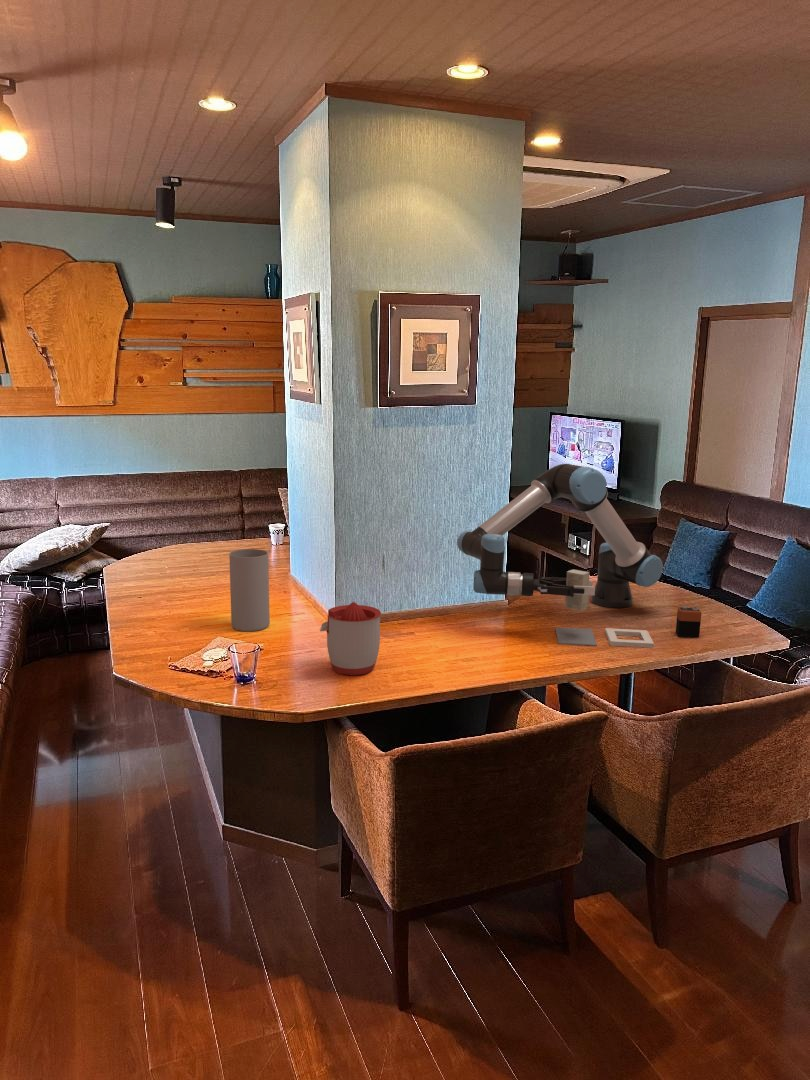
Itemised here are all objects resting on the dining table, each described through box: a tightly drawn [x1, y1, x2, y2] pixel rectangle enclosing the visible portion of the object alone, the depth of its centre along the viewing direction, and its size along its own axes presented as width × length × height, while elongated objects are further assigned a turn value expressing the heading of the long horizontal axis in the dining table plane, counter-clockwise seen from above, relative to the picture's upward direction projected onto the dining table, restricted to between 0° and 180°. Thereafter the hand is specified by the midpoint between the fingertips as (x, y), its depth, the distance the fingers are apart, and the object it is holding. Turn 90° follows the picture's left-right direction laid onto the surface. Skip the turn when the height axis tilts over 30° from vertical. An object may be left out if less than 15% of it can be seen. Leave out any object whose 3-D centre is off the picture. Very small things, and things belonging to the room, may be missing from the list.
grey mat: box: [554, 626, 598, 647], centre depth 264 cm, size 16×12×1 cm
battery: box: [675, 605, 702, 639], centre depth 267 cm, size 4×7×10 cm, turn 85°
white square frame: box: [604, 627, 655, 649], centre depth 262 cm, size 13×13×2 cm
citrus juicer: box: [319, 601, 382, 676], centre depth 231 cm, size 16×17×20 cm
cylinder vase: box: [228, 548, 271, 632], centre depth 267 cm, size 12×12×25 cm
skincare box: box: [564, 569, 590, 612], centre depth 261 cm, size 6×4×12 cm
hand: (593, 588), depth 260 cm, fingers closed on skincare box, 7 cm apart
